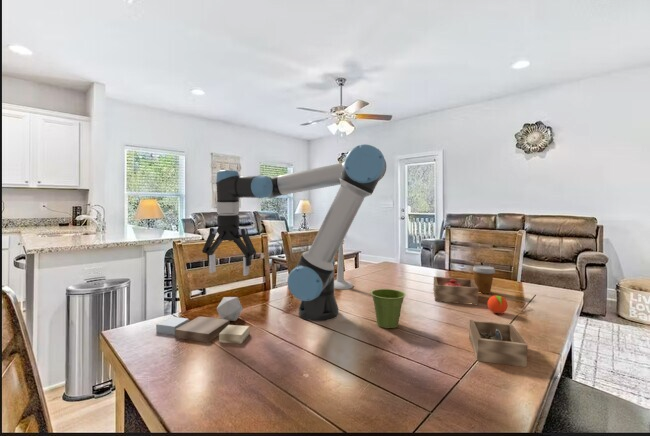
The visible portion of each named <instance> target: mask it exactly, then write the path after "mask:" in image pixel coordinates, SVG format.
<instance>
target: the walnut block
mask: <svg viewBox="0 0 650 436" xmlns="http://www.w3.org/2000/svg"><path fill="white" fill-rule="evenodd" d="M228 325H231V321H230V320H225V319H221V318H216V317H210V316H209V317H208V316H197V317H195V318H193V319H192V320H189V322H188V323H186V324H184V325H182V326H180V327H179V328H177V329H175V335H174V338H177V339H184V340H190V341H191V340H192V341H197V342H203V343H204V342H205V343H209V342H211V341H213V340H214V339H215V338H217V337H219V333H220V332H221V331H222V330H224V329H225V328H226V327H227V326H228Z"/></svg>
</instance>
